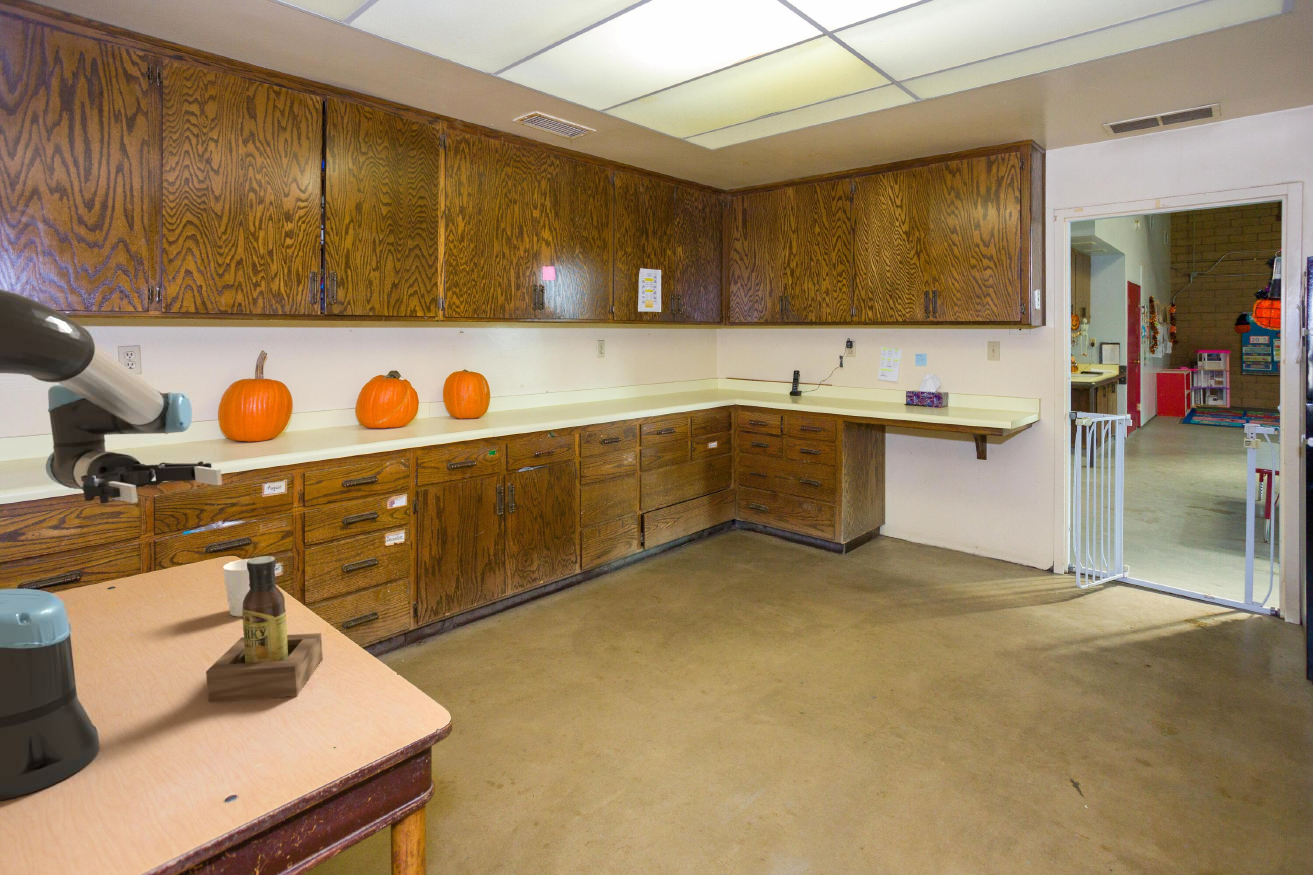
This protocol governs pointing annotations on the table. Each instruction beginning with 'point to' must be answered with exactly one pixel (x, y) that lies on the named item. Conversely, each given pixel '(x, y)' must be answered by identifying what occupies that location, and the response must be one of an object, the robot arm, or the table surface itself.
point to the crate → (264, 671)
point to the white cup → (236, 585)
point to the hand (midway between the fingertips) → (178, 485)
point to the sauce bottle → (264, 614)
